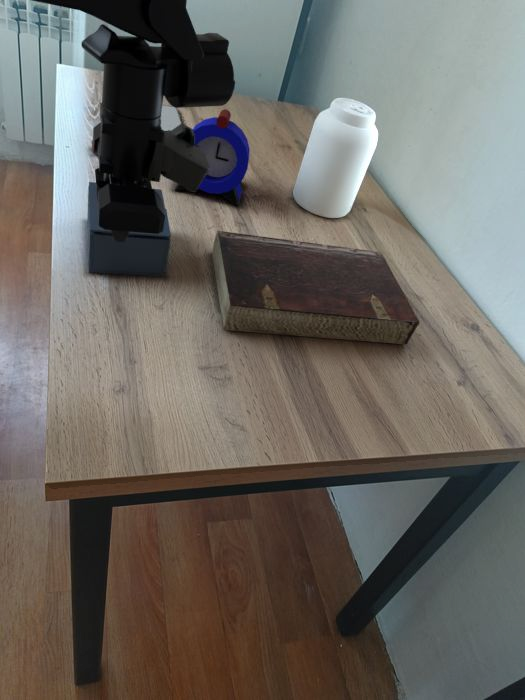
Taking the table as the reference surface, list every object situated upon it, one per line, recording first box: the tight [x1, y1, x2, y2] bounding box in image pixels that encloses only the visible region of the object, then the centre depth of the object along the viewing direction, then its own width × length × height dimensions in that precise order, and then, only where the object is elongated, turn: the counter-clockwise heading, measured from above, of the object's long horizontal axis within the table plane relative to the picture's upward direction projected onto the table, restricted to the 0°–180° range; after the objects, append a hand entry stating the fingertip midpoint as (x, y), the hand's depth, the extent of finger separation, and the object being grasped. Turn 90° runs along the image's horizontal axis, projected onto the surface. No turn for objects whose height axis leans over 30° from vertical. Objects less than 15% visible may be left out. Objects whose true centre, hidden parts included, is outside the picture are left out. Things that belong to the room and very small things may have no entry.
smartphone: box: [161, 104, 183, 132], centre depth 120 cm, size 7×1×15 cm
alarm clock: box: [174, 108, 251, 207], centre depth 100 cm, size 12×12×15 cm
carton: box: [86, 181, 171, 277], centre depth 81 cm, size 13×11×7 cm
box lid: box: [90, 202, 172, 239], centre depth 77 cm, size 6×11×1 cm, turn 104°
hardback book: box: [211, 230, 420, 345], centre depth 84 cm, size 29×19×5 cm, turn 99°
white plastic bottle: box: [292, 97, 379, 219], centre depth 104 cm, size 12×12×20 cm
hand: (119, 240), depth 63 cm, fingers closed
